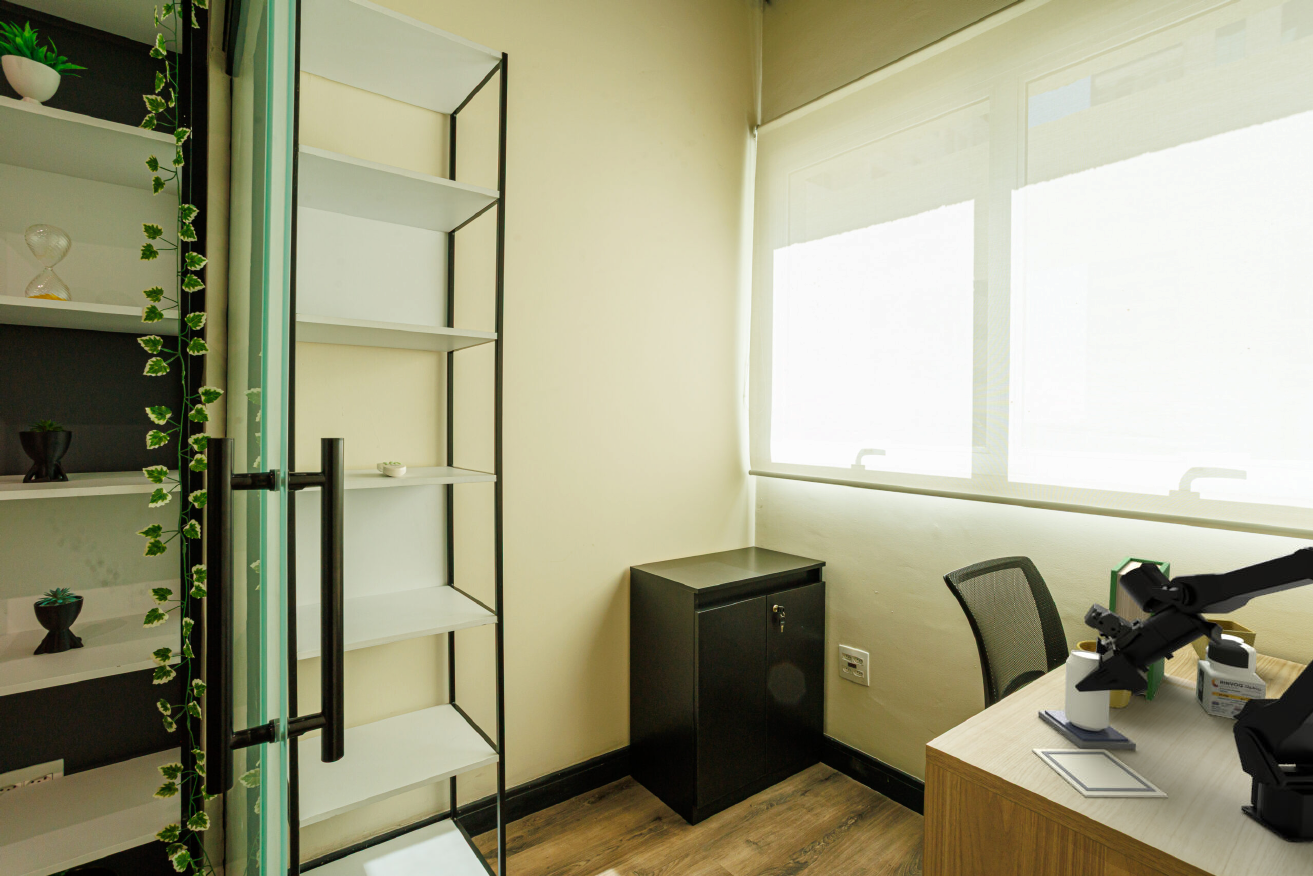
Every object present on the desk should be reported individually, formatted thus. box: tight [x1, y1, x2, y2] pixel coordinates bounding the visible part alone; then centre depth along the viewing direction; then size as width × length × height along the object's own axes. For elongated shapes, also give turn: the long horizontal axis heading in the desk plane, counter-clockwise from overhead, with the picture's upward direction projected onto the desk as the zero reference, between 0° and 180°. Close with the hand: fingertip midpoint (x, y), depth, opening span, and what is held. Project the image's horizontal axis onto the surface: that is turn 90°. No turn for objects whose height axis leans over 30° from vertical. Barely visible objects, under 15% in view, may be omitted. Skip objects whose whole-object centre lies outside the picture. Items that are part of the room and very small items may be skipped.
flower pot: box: [1190, 617, 1257, 661], centre depth 137 cm, size 9×9×9 cm
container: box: [1195, 639, 1267, 720], centre depth 115 cm, size 8×8×13 cm
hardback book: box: [1108, 556, 1171, 702], centre depth 127 cm, size 18×7×24 cm, turn 135°
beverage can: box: [1064, 649, 1110, 731], centre depth 105 cm, size 6×6×12 cm
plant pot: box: [1075, 640, 1133, 709], centre depth 118 cm, size 10×10×10 cm
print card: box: [1031, 748, 1168, 798], centre depth 94 cm, size 12×12×1 cm
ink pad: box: [1037, 709, 1137, 751], centre depth 106 cm, size 11×9×1 cm
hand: (1076, 682), depth 106 cm, fingers open, 6 cm apart
